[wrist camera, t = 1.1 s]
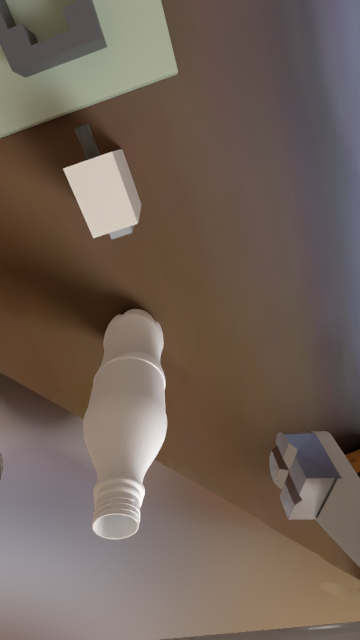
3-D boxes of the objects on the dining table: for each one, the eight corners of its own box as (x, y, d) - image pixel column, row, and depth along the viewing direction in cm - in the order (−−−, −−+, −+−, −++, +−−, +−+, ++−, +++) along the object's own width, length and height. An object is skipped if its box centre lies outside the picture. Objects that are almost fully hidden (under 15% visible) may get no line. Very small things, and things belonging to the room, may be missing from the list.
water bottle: (102, 305, 40) (43, 499, 18) (159, 300, 40) (166, 486, 19) (112, 352, 44) (72, 561, 22) (165, 347, 44) (176, 549, 22)
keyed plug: (112, 122, 31) (98, 115, 23) (144, 214, 35) (141, 235, 27) (74, 135, 31) (47, 133, 23) (110, 225, 35) (98, 249, 28)
